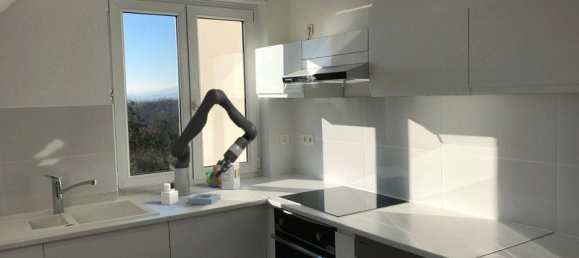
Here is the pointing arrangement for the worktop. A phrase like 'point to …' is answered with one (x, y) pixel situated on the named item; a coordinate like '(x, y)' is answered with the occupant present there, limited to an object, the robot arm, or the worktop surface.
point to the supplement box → (231, 177)
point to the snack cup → (210, 179)
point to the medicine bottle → (169, 194)
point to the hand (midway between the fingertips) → (214, 176)
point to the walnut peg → (218, 180)
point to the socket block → (204, 199)
